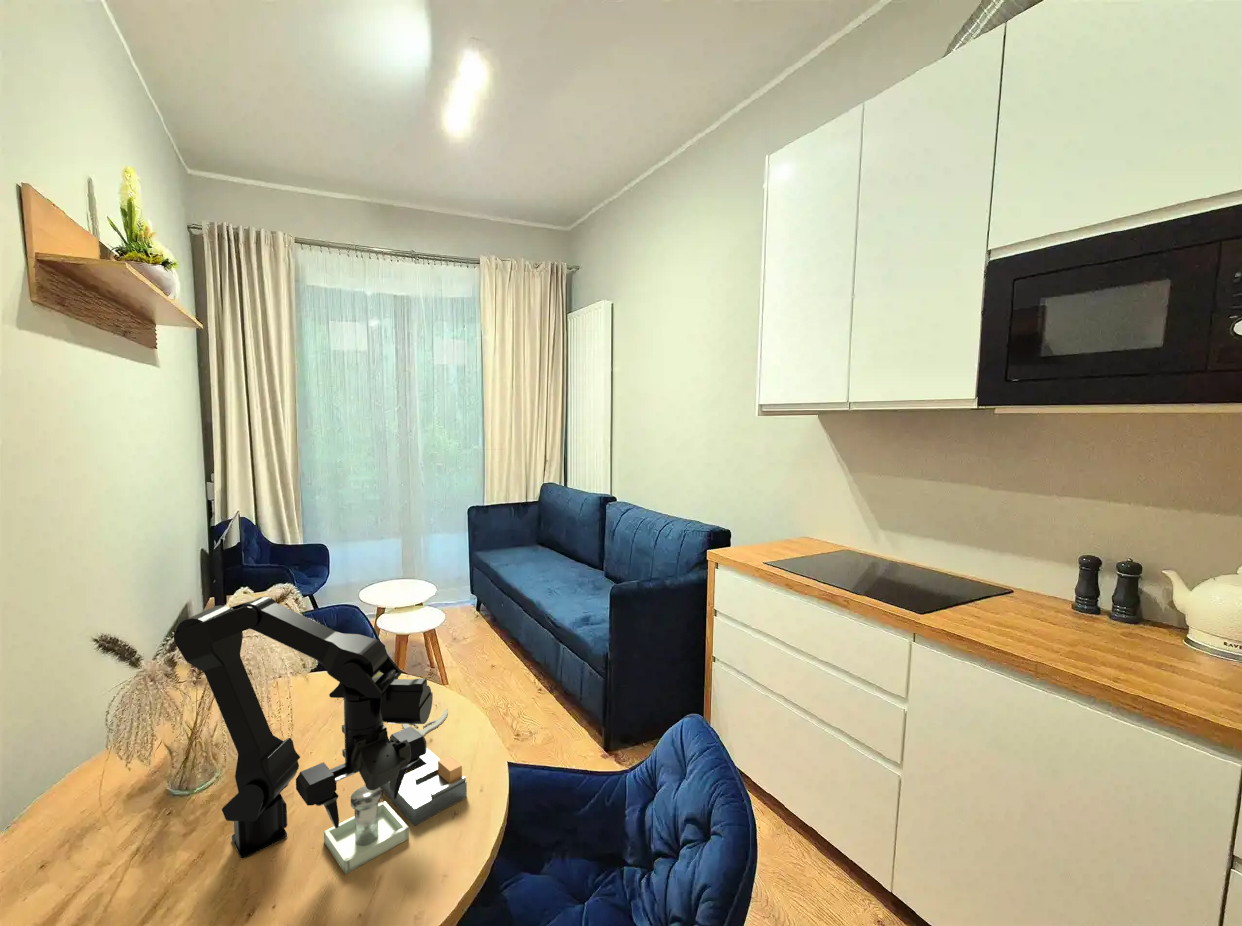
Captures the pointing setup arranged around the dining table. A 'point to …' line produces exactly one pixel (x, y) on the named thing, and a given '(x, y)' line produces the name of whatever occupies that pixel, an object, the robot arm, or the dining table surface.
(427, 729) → the pliers
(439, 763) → the block
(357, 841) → the pin
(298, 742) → the dining table surface
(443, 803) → the metallic box with opening
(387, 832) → the tray
